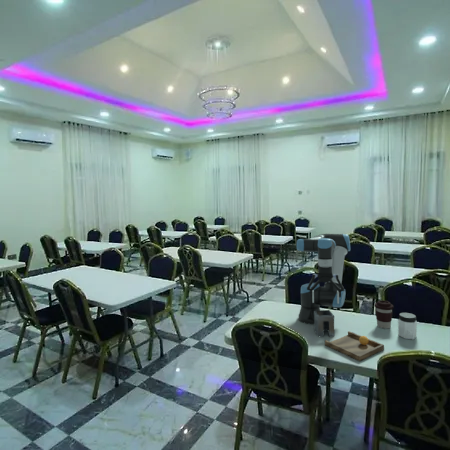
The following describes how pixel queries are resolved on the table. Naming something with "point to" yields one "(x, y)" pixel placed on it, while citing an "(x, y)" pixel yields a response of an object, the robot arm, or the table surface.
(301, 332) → the table surface
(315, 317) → the grey piece
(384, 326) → the coffee cup
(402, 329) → the jar
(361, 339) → the ball
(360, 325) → the table surface
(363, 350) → the tray
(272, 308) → the table surface
